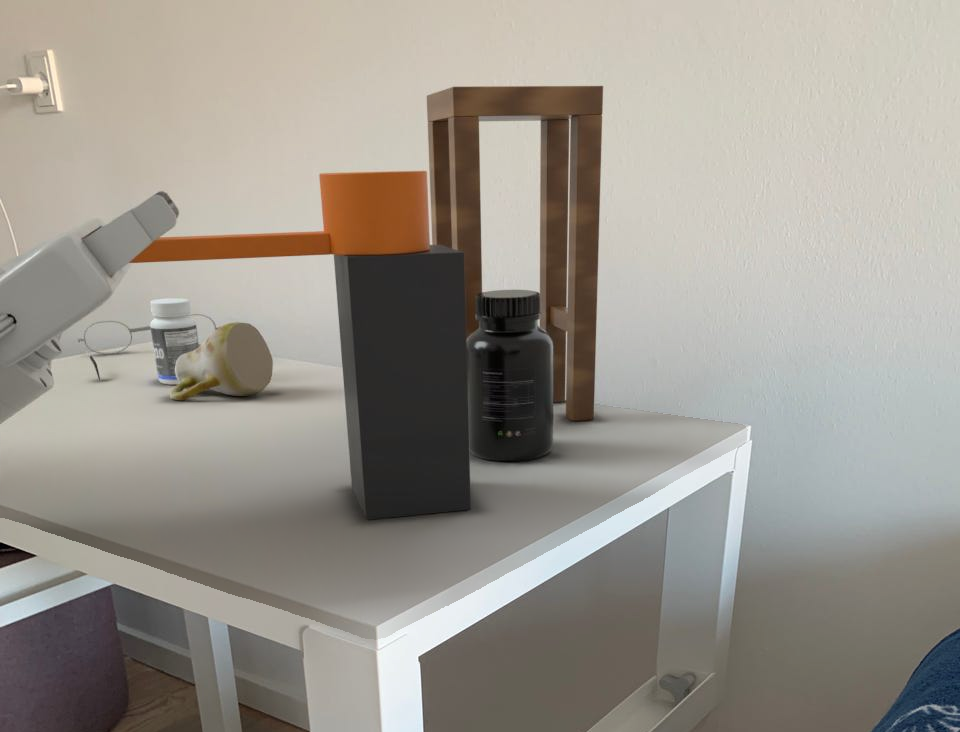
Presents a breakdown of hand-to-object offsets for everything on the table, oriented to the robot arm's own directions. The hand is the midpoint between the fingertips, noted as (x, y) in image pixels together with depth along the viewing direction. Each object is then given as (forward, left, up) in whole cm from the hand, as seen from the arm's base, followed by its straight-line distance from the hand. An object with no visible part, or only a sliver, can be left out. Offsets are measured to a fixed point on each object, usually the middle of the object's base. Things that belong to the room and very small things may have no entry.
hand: (171, 203), depth 58 cm
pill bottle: (-3, +50, -19) cm, 53 cm away
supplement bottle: (+23, +10, -19) cm, 32 cm away
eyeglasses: (-5, +64, -19) cm, 67 cm away
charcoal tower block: (+13, 0, -19) cm, 23 cm away
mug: (+1, +41, -19) cm, 45 cm away
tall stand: (+27, +23, -19) cm, 40 cm away
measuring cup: (+5, 0, -3) cm, 6 cm away
